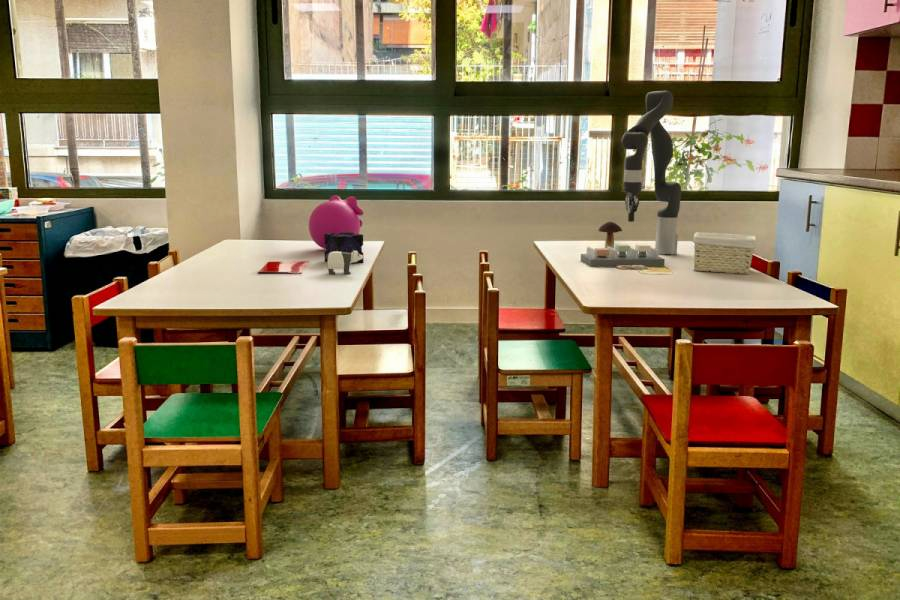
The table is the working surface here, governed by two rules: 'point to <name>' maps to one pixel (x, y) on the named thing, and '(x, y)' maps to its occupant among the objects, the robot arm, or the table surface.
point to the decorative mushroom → (610, 232)
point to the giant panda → (342, 260)
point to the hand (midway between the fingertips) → (630, 221)
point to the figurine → (334, 218)
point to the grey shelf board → (622, 258)
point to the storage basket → (723, 252)
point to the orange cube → (602, 252)
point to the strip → (631, 267)
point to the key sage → (622, 249)
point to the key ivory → (642, 249)
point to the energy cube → (343, 243)
